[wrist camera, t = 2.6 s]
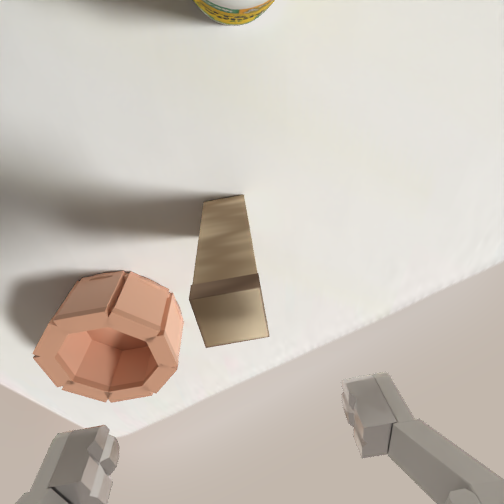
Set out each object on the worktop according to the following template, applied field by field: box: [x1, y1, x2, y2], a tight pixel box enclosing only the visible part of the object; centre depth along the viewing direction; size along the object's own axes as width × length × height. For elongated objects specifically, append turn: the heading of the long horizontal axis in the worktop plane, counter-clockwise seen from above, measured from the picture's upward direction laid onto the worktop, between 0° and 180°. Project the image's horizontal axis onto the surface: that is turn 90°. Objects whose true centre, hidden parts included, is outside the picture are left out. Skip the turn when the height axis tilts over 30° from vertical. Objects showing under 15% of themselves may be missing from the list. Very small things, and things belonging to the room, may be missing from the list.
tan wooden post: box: [189, 195, 269, 348], centre depth 18 cm, size 3×3×11 cm
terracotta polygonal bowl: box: [33, 270, 184, 402], centre depth 25 cm, size 10×10×5 cm
